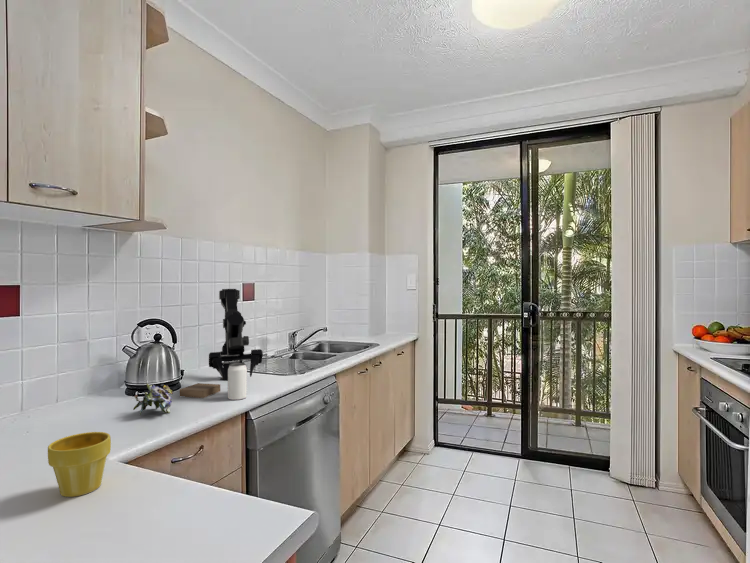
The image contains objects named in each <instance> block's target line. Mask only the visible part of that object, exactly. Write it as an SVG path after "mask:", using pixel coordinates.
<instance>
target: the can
mask: <svg viewBox="0 0 750 563" xmlns="http://www.w3.org/2000/svg"><path fill="white" fill-rule="evenodd" d="M247 369H248V368H247V366H246V363H245V362H242V363H233V364H229V368H228V380H227V398H228V399H229V400H230V401H241V400H244V399H246V398H247V397H248V372H247Z"/></svg>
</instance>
